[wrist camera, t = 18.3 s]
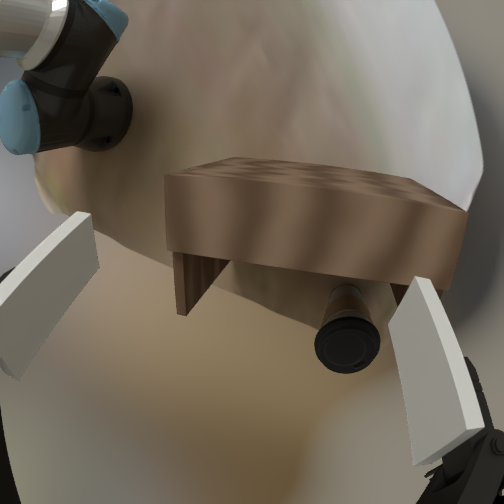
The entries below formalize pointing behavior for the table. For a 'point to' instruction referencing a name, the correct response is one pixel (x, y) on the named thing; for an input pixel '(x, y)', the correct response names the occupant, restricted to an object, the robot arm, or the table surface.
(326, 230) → the walnut box
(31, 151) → the robot arm
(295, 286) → the table surface
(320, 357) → the coffee cup
